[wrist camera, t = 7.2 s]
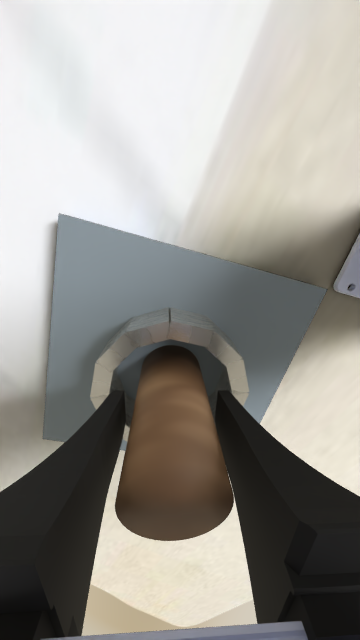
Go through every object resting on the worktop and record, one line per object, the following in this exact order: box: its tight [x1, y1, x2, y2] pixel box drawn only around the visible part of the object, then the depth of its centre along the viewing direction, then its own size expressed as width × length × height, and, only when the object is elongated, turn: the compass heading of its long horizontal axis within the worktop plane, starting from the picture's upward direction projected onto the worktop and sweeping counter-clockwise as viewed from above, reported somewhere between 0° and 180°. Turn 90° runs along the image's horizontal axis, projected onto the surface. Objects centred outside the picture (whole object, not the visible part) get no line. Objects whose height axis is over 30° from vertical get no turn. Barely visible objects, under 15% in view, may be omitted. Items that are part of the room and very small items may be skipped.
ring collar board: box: [43, 213, 327, 451], centre depth 14 cm, size 16×16×4 cm
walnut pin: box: [115, 345, 234, 541], centre depth 11 cm, size 4×4×8 cm
